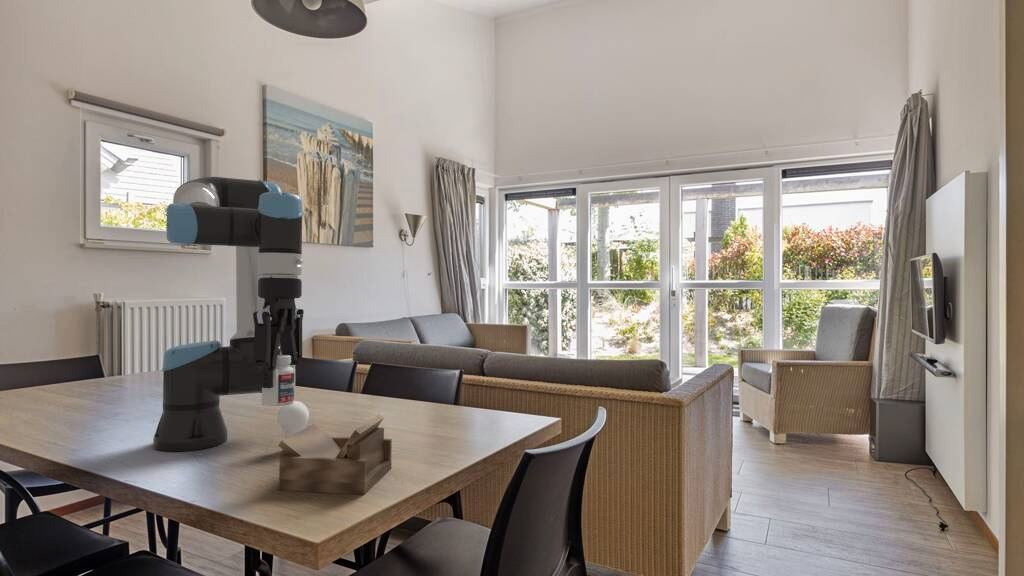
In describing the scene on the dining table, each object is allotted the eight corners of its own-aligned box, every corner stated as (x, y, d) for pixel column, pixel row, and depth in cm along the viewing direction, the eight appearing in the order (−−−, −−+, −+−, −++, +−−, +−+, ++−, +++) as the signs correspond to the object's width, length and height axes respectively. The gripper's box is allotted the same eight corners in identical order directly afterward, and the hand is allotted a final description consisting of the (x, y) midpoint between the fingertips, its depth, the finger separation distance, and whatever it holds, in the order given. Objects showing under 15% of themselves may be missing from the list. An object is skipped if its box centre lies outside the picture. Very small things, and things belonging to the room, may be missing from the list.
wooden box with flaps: (274, 489, 104) (275, 428, 104) (312, 464, 119) (312, 410, 119) (364, 494, 103) (365, 431, 103) (391, 468, 118) (391, 413, 117)
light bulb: (282, 446, 133) (282, 398, 133) (311, 445, 133) (312, 398, 133) (272, 454, 126) (273, 404, 126) (303, 454, 127) (304, 404, 127)
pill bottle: (282, 407, 104) (282, 358, 104) (257, 405, 105) (257, 357, 105) (299, 401, 109) (300, 354, 109) (275, 400, 110) (275, 353, 110)
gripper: (271, 276, 97) (270, 413, 97) (322, 277, 115) (321, 393, 115) (230, 275, 98) (229, 411, 98) (287, 277, 116) (286, 392, 116)
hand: (278, 401), depth 107 cm, fingers closed on pill bottle, 5 cm apart
